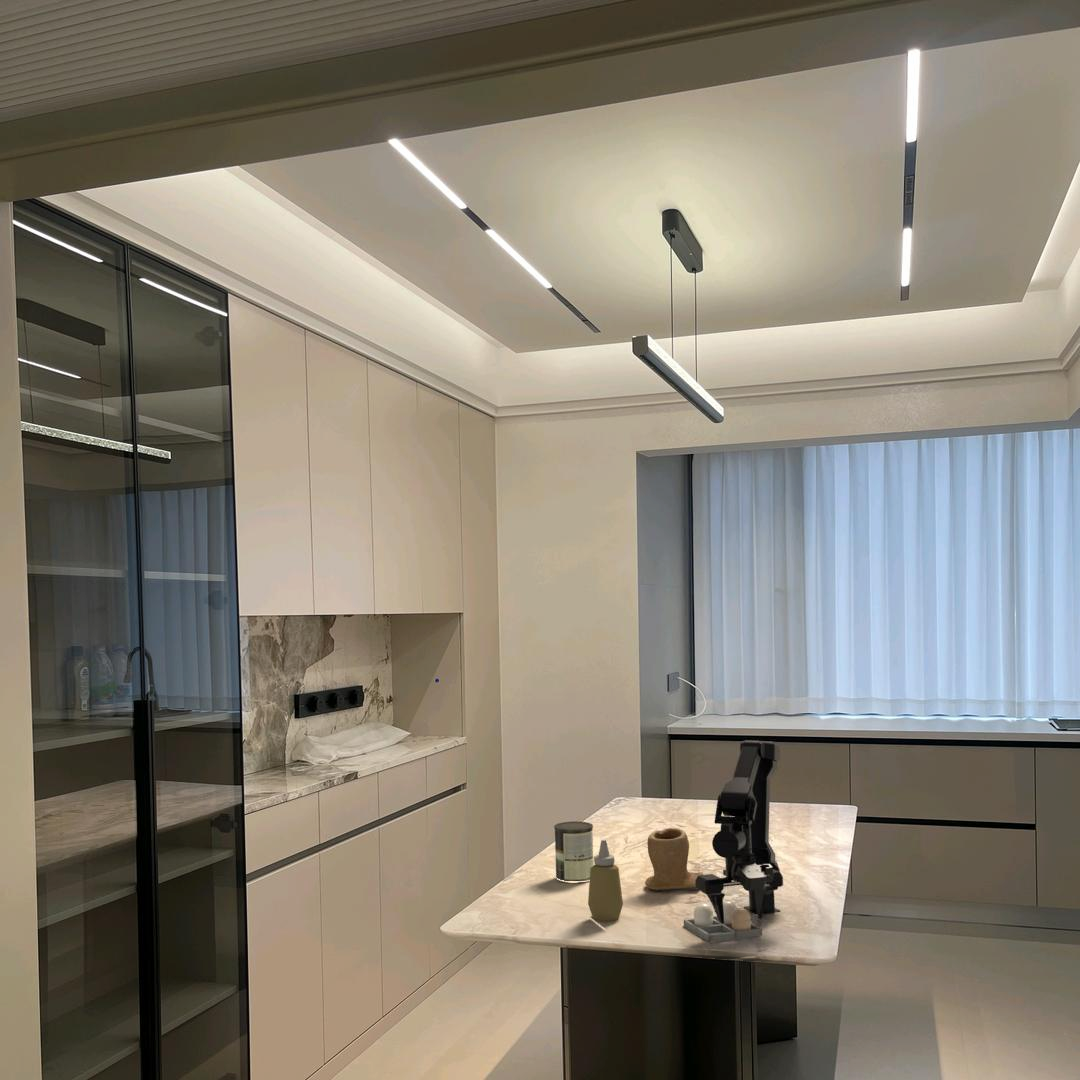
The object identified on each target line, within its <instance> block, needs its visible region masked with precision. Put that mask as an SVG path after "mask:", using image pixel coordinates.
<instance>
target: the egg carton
mask: <svg viewBox="0 0 1080 1080" xmlns="http://www.w3.org/2000/svg"><path fill="white" fill-rule="evenodd" d="M683 927H685V928H686V929H688V930H690V931H691V932H692V933H694V934H696V935H697V936H698V937H700V938H702V939H704V940H705V941H707V942H709V943H716V942H723V941H731V940H738V939H747V938H753V937H760V936H763V929H762V927H759V926H758V925H755V923H753V922H751V930H744V931H734V930H732V923H726V924H721V923H720V922H719V919H718V917H717V915H713V925H710V926H702V927H697V926H696V925H694V918H689V919H683Z"/></svg>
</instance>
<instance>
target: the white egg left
mask: <svg viewBox="0 0 1080 1080" xmlns="http://www.w3.org/2000/svg"><path fill="white" fill-rule="evenodd" d="M737 908H738V906H736V904H735V903H734V902H733V901H731V900H724V901H723V910H724V923H723V924H726V923H732V922H731V915H732V912H733V911H734V910H735V909H737ZM719 922H720V921H719Z"/></svg>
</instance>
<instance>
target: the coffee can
mask: <svg viewBox="0 0 1080 1080" xmlns="http://www.w3.org/2000/svg"><path fill="white" fill-rule="evenodd" d="M593 828H594V826H593V824H592V823H591V822H586V821H575V820H574V821H565V822H563V821H562V822H558V823H556V824H555V825H554V845H555V847H554V848H555V851H554V852H555V878H556V877H557V878H558V879H560V880H564V881H587V880H590V868H591V867H592V866H593V865H594V844H593V843H594V840H593V839H594V837H593Z"/></svg>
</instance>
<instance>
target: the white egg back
mask: <svg viewBox="0 0 1080 1080" xmlns="http://www.w3.org/2000/svg"><path fill="white" fill-rule="evenodd" d="M713 916H714V910H713V908H712V907H711V906H710V905H709V904H707V903H699V904H697V905H696V906H695V908H694V910H693V919H694V925H696V926H697V927H702V926H710V925H713Z"/></svg>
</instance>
